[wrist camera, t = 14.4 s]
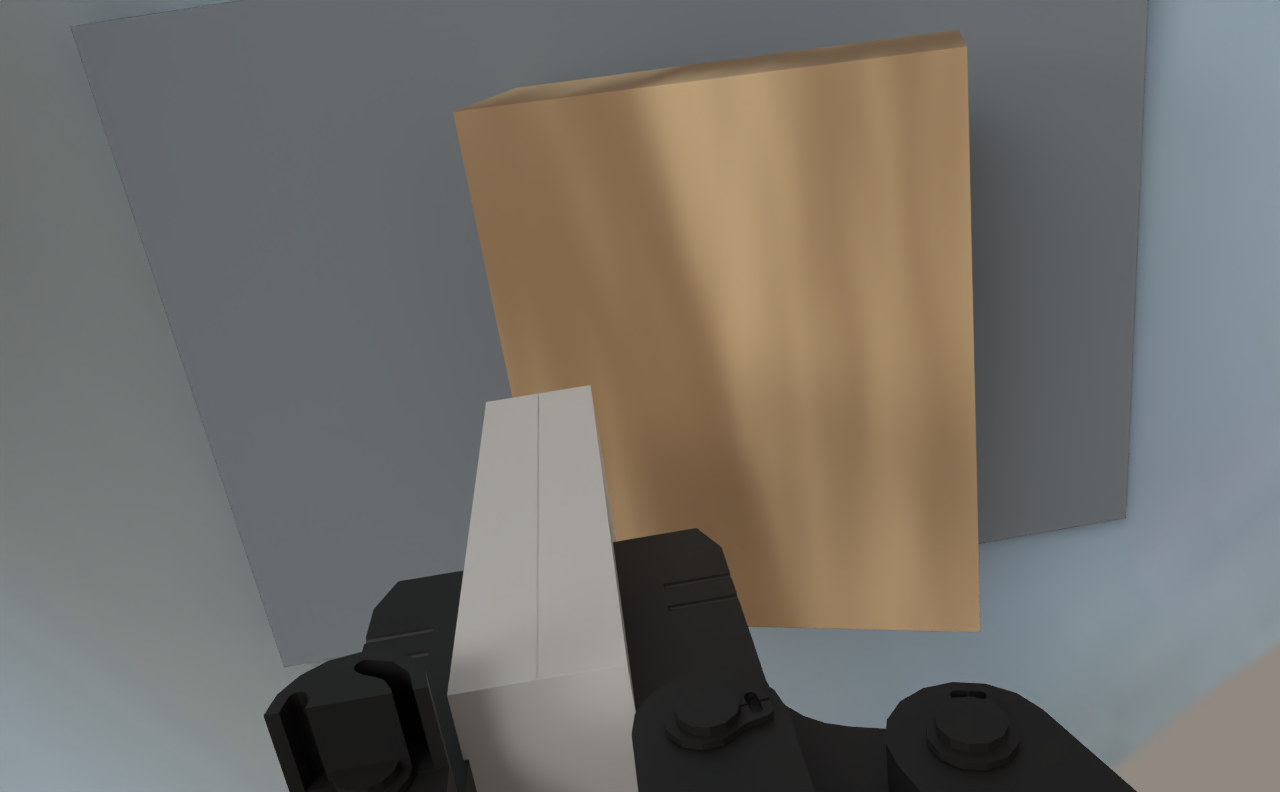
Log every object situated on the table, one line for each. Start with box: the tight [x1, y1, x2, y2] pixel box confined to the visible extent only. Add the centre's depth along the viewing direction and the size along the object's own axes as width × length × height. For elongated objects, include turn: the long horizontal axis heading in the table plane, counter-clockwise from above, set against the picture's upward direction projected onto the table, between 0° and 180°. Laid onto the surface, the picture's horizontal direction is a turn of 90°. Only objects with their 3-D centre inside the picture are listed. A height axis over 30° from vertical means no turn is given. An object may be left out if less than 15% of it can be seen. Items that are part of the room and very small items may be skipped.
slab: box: [453, 30, 980, 632], centre depth 19 cm, size 3×10×8 cm
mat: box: [70, 0, 1148, 667], centre depth 22 cm, size 20×14×1 cm
